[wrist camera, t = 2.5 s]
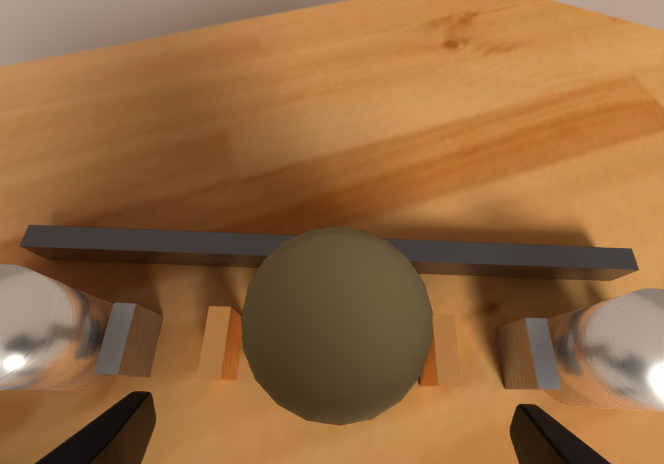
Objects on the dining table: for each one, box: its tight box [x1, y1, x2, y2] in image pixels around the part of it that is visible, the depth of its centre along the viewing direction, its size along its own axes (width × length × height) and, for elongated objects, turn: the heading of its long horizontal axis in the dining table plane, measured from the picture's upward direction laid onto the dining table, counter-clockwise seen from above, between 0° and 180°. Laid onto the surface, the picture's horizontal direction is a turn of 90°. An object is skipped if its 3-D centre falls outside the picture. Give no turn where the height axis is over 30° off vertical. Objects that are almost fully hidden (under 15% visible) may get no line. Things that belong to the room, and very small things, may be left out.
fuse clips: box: [0, 225, 664, 412], centre depth 16 cm, size 8×32×6 cm, turn 88°
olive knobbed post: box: [241, 226, 433, 426], centre depth 13 cm, size 6×6×11 cm
